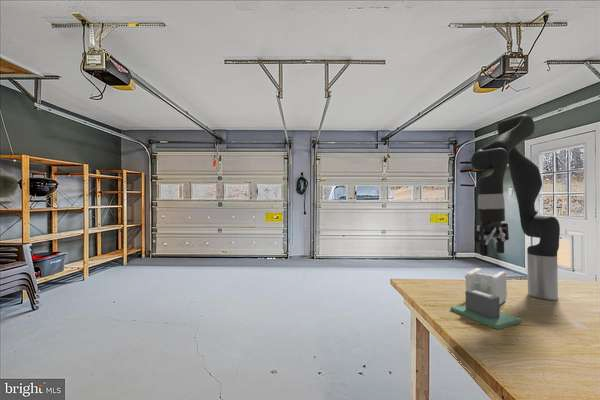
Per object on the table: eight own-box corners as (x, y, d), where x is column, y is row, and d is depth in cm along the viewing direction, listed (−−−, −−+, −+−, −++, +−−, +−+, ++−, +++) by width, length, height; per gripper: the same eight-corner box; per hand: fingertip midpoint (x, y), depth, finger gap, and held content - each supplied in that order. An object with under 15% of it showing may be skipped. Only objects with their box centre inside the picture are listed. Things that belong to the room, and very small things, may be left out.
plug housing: (473, 307, 98) (473, 288, 98) (499, 316, 89) (499, 296, 90) (465, 309, 96) (465, 290, 96) (491, 319, 88) (491, 298, 88)
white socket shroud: (496, 310, 98) (496, 278, 98) (464, 302, 106) (464, 272, 106) (507, 300, 108) (507, 271, 108) (477, 293, 116) (476, 266, 116)
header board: (473, 305, 103) (472, 292, 103) (520, 322, 88) (520, 307, 88) (450, 310, 98) (450, 297, 98) (497, 329, 84) (497, 314, 84)
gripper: (493, 206, 99) (494, 250, 99) (466, 208, 94) (467, 254, 94) (515, 206, 92) (517, 254, 92) (488, 208, 87) (490, 258, 87)
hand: (492, 254), depth 93 cm, fingers open, 8 cm apart
